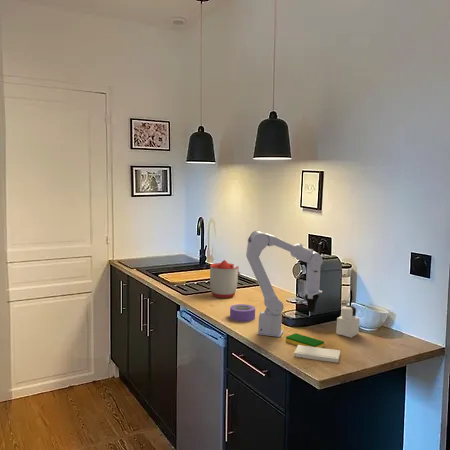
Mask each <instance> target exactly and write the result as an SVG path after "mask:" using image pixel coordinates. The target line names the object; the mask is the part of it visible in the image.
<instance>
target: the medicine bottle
mask: <svg viewBox="0 0 450 450" xmlns="http://www.w3.org/2000/svg"><path fill="white" fill-rule="evenodd" d="M356 314H357V308H356V307H355V306H353V305H343V306H341V312H340V316H339V317H337V318H336V329H335V333H336V335H339V336H344V337H348V338H353V337H355V336H357V335H359V332H360V331H359V330H360V329H359V328H360V317H358V316H356Z"/></svg>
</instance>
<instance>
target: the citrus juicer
mask: <svg viewBox="0 0 450 450" xmlns="http://www.w3.org/2000/svg"><path fill="white" fill-rule="evenodd" d="M234 265H235V264H234V263H231V262H230V263H229V262H228V261H227V260H225V259H224V260H222V261H221V262H218V263H216V262H215V263H211V264H210V265H209V267H210V268H209V269H210V271H209V283H210V284H209V286H210V291H211V294H212V296H213V297H215V298H219V299H229V298H233V297H235V295H236V291H237V287H238V279H239V278H238V277H239V275H241V272H240V271H239V265H237V266H236V267H235V266H234Z"/></svg>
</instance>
